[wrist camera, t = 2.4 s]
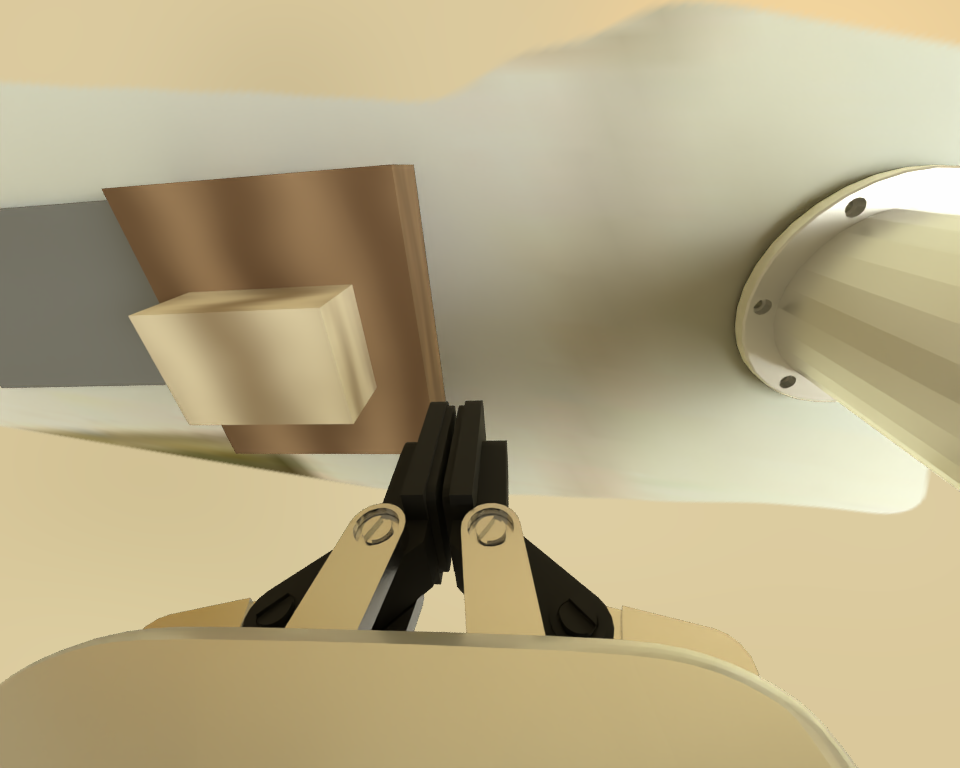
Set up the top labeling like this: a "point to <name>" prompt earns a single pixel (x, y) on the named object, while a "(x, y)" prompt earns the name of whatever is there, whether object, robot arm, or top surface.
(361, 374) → the beige rectangular block
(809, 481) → the top surface
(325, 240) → the step
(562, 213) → the top surface
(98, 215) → the mat
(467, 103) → the top surface
